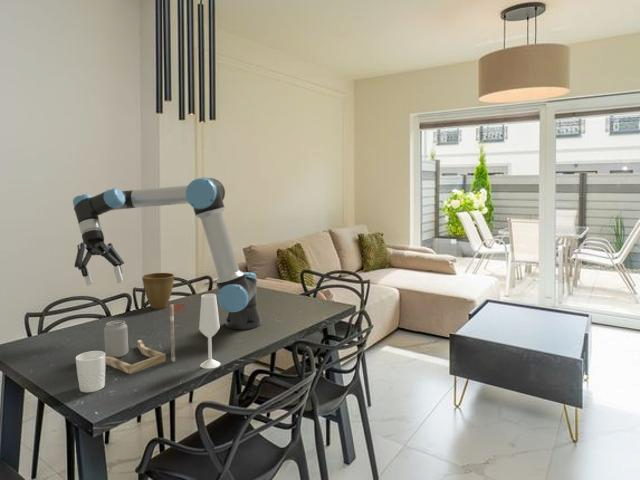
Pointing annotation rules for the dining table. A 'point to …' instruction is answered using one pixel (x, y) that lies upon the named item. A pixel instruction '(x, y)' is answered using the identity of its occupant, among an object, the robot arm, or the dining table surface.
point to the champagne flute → (209, 325)
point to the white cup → (91, 371)
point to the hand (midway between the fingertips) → (105, 283)
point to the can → (116, 339)
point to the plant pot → (158, 289)
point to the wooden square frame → (148, 350)
